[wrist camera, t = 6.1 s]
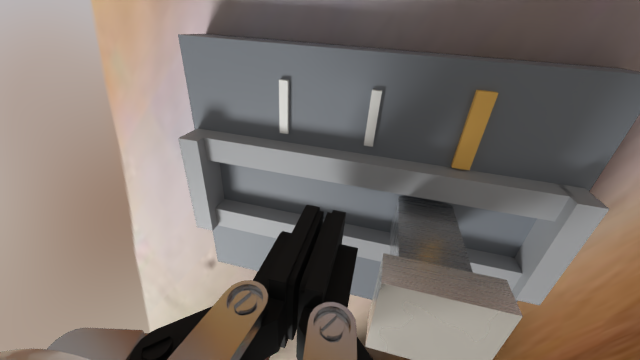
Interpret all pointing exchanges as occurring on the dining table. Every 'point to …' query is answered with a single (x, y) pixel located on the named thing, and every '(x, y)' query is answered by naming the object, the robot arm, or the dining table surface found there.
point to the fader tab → (436, 292)
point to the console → (401, 149)
